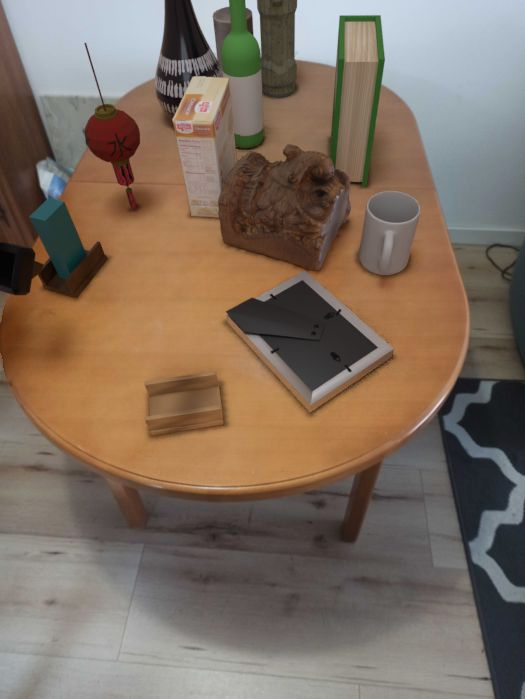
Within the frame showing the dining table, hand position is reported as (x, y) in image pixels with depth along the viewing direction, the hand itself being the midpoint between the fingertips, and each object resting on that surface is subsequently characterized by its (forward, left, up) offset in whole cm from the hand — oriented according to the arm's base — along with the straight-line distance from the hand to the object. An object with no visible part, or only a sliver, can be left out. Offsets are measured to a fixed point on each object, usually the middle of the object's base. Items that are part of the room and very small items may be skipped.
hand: (16, 260), depth 75 cm
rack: (+6, +7, -11) cm, 15 cm away
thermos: (+65, +50, -12) cm, 83 cm away
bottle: (+49, +32, -12) cm, 60 cm away
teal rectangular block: (+7, +7, -10) cm, 14 cm away
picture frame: (+36, -24, -12) cm, 45 cm away
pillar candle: (+59, +63, -12) cm, 88 cm away
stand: (+15, -28, -11) cm, 34 cm away
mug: (+55, -15, -12) cm, 59 cm away
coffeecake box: (+36, +17, -12) cm, 42 cm away
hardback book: (+65, +15, -12) cm, 68 cm away
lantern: (+20, +20, -12) cm, 31 cm away
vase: (+42, +47, -12) cm, 65 cm away
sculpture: (+44, 0, -12) cm, 46 cm away
